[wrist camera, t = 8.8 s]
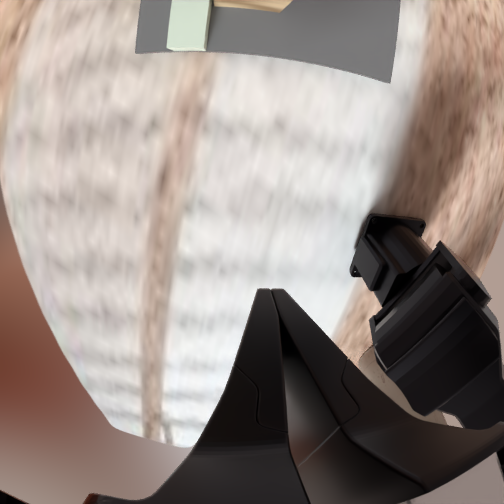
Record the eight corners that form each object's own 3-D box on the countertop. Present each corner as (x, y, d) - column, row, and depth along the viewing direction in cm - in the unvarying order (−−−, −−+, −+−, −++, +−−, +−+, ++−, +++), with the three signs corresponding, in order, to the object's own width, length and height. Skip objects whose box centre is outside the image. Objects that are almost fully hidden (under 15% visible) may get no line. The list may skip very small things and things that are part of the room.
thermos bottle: (364, 376, 39) (413, 537, 17) (352, 355, 35) (410, 549, 12) (410, 352, 38) (471, 510, 15) (405, 327, 33) (482, 516, 11)
